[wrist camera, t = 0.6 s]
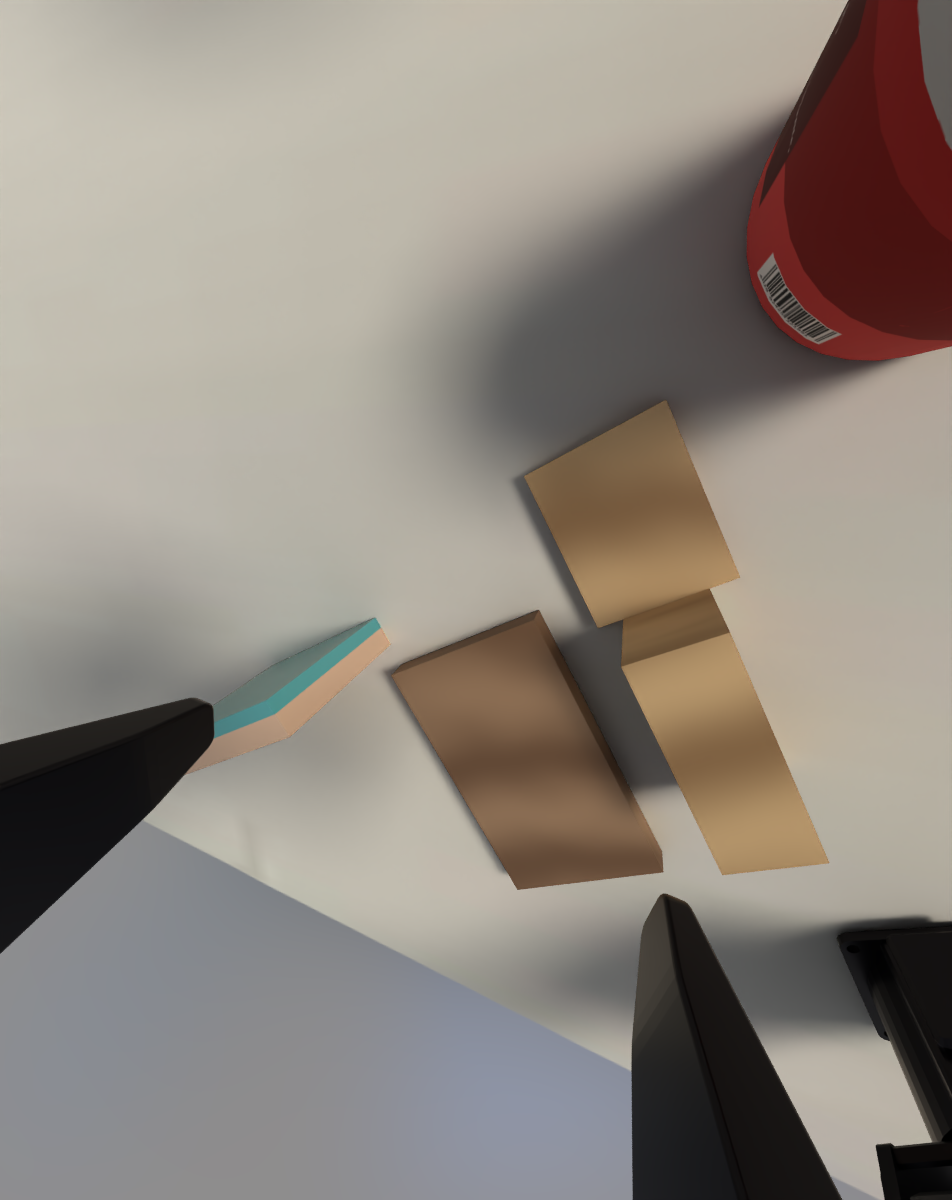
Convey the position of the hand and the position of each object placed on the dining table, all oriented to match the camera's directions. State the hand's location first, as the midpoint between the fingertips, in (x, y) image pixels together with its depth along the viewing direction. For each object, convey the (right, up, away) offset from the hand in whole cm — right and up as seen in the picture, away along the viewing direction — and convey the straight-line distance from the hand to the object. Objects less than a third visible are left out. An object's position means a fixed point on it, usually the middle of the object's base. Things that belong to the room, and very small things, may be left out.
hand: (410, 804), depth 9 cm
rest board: (+4, -4, +15) cm, 16 cm away
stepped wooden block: (+9, +3, +11) cm, 15 cm away
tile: (-7, +1, +17) cm, 18 cm away
